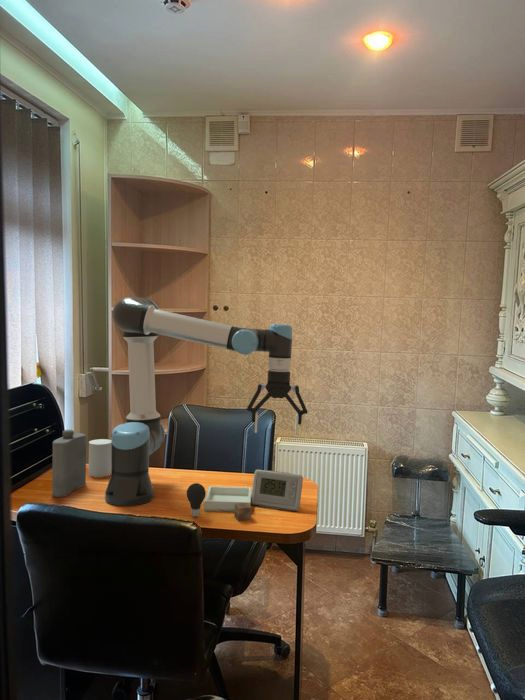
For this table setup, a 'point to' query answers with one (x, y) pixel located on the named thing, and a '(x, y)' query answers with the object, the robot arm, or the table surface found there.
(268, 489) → the digital clock
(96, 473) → the cup
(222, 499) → the tray
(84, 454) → the flask
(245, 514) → the walnut block
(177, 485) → the table surface
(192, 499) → the light bulb
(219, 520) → the table surface
